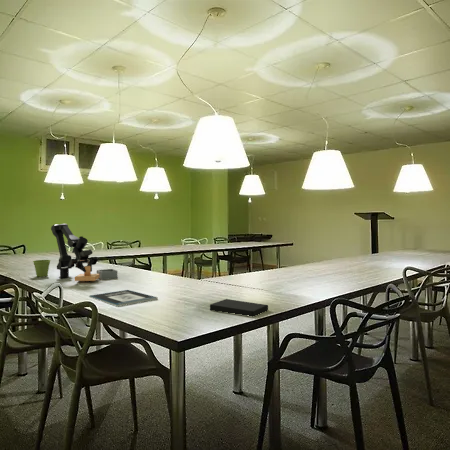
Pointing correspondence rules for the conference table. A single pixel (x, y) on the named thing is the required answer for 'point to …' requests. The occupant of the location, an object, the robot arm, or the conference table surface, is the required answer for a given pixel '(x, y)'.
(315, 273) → the conference table surface
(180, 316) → the conference table surface
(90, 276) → the lid
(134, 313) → the conference table surface
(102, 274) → the storage box
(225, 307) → the external hard drive
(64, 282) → the conference table surface
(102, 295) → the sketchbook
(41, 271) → the plant pot
